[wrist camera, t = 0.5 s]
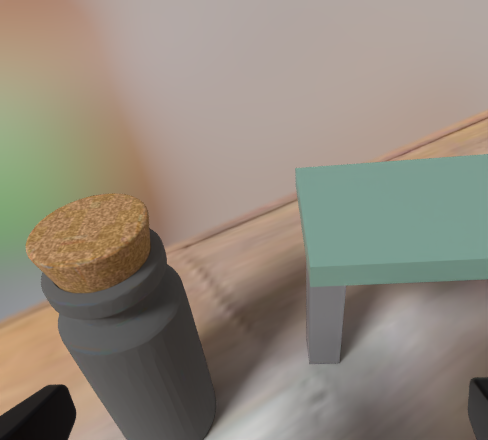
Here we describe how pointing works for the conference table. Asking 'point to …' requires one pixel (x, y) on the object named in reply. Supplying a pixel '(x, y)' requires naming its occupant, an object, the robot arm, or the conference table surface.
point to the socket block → (387, 232)
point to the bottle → (125, 316)
